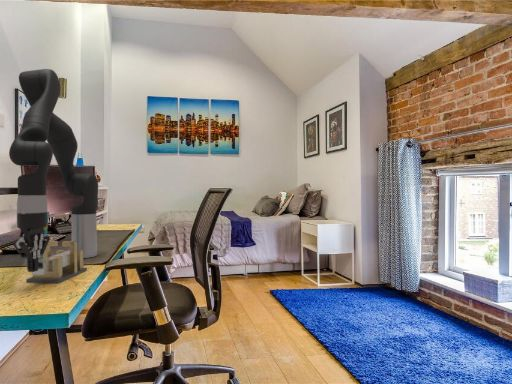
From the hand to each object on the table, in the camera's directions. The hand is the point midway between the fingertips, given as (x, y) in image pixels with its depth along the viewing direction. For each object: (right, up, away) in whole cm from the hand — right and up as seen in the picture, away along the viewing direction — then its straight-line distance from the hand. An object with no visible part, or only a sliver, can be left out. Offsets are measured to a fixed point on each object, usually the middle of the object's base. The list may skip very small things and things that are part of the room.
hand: (32, 271), depth 108 cm
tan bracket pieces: (+1, -3, +13) cm, 13 cm away
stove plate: (+1, -4, +12) cm, 13 cm away
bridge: (+1, -4, +13) cm, 14 cm away
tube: (-14, -4, +27) cm, 31 cm away
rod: (+1, -1, +12) cm, 12 cm away
